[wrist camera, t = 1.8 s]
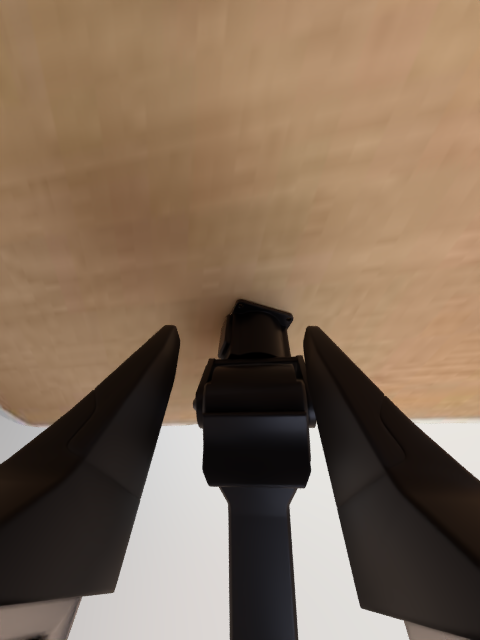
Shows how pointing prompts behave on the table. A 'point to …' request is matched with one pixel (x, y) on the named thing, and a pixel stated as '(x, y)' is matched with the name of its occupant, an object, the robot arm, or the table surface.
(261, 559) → the robot arm
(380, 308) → the table surface
